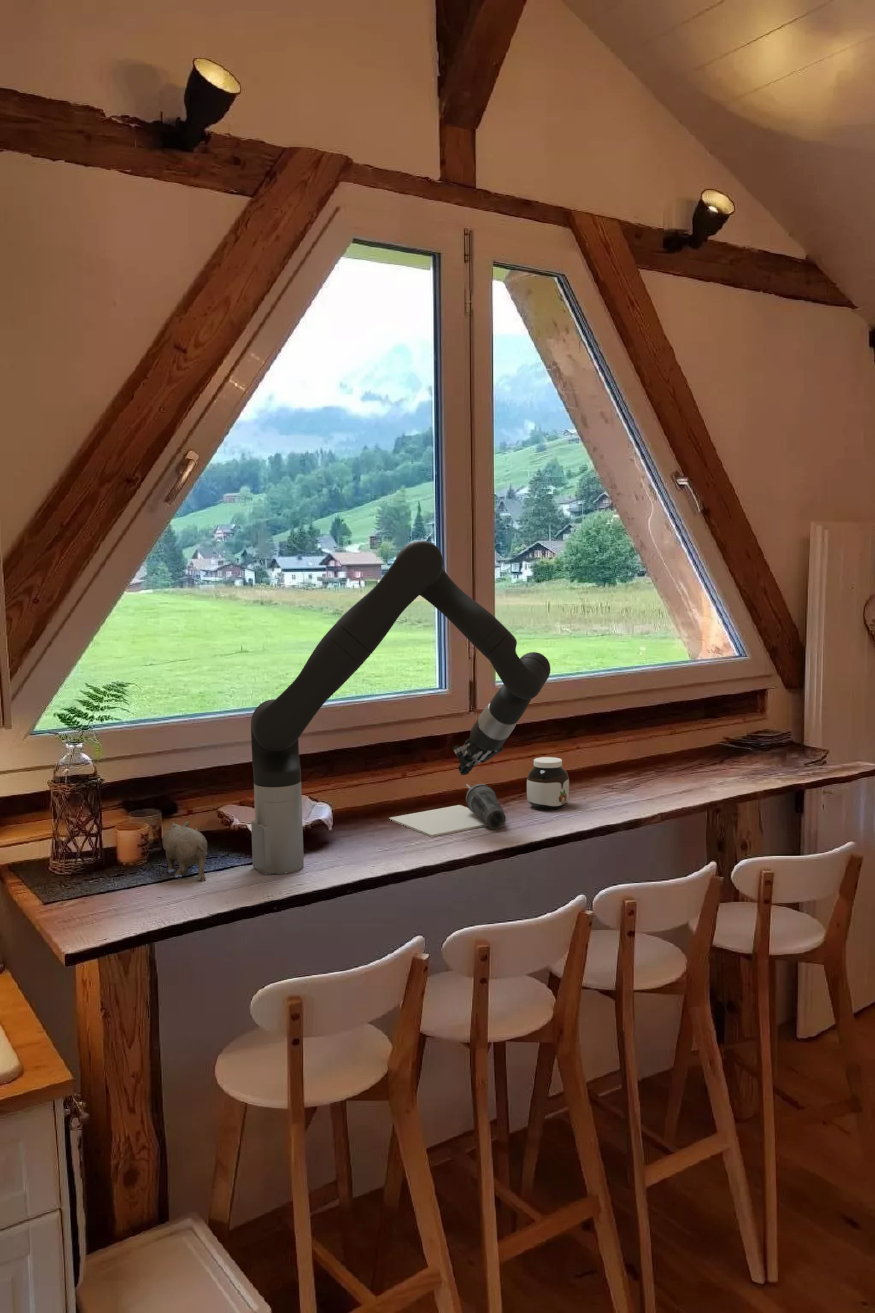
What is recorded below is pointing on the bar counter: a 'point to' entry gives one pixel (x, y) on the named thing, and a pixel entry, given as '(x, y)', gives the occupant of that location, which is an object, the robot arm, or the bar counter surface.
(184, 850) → the elephant figurine
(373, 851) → the bar counter surface
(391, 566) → the robot arm
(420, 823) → the white flat panel
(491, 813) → the beverage cup
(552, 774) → the spread jar
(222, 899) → the bar counter surface
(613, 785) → the bar counter surface
